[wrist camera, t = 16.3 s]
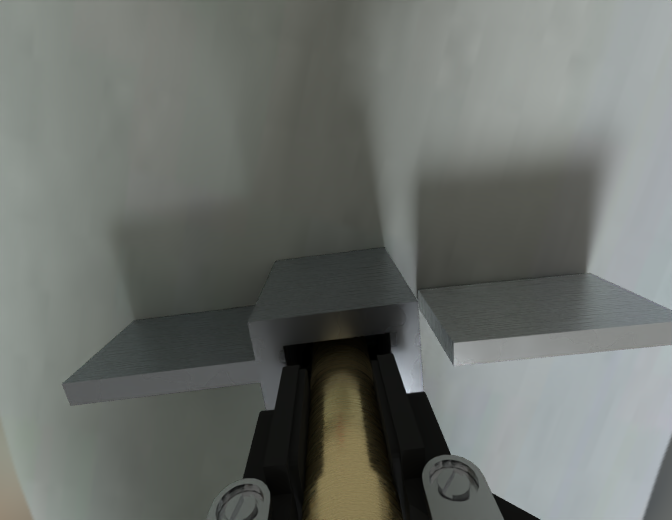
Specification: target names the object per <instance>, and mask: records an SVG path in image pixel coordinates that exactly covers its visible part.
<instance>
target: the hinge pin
mask: <svg viewBox="0 0 672 520" xmlns="http://www.w3.org/2000/svg"><path fill="white" fill-rule="evenodd" d="M310 391H311V393H310V409H309V425H308V440H307V456H306V472H305V487H304V499H303V506H302V520H404V519H403V515H402V510H401V505H400V500H399V496H398V493H397V491H396V489H395V487H394V482H393V477H392V473H391V468H390V463H389V458H388V453H387V448H386V443H385V438H384V433H383V428H382V424H381V419H380V414H379V409H378V404H377V399H376V394H375V389H374V384H373V375H372V368H371V363H370V358H369V353H368V349H367V344H366V339H365V336H358V337H350V338H342V339H334V340H326V341H318V342H313V355H312V370H311V385H310Z"/></svg>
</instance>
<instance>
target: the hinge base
mask: <svg viewBox="0 0 672 520" xmlns="http://www.w3.org/2000/svg"><path fill="white" fill-rule="evenodd" d="M358 336H365V339H366V344H367V349H368V353H369V358H370V363H371V361H372V360H377V355H384V354H392V353H393V354H394V357H395V360H396V363H397V366H398V369H399V372H400V375H401V378H402V381H403V384H404V387H405V390H406V393H414V392H422V391H423V376H422V360H421V344H420V328H419V312H418V301H417V299H416V298H415V296H414V294H413V293H412V291H411V289H410V288H409V286H408V285H407V283H406V281H405V280H404V278H403V277H402V275H401V273H400V272H399V270H398V268H397V267H396V265H395V264H394V262H393V260H392V259H391V257H390V255H389V254H388V252H387V251H386V249H385V247H383V248H375V249H367V250H359V251H351V252H343V253H335V254H327V255H319V256H311V257H303V258H295V259H287V260H279V261H276V262H275V264H274V266H273V268H272V270H271V272H270V275H269V277H268V279H267V281H266V283H265V285H264V288H263V290H262V292H261V294H260V296H259V299H258V301H257V303H256V305H255V306H248V307H240V308H232V309H224V310H216V311H208V312H200V313H192V314H183V315H175V316H167V317H159V318H151V319H143V320H135V321H133V322H132V323H131V324H130V325H129V326H127V327H126V328H125V329H124V330H123V331H122V332H121V333H119V334H118V335H117V336H116V337H115V338H114V339H113V340H111V341H110V342H109V343H108V344H107V345H106V346H105V347H104V348H102V349H101V350H100V351H99V352H98V353H97V354H96V355H94V356H93V357H92V358H91V359H90V360H89V361H88V362H86V363H85V364H84V365H83V366H82V367H81V368H80V369H78V370H77V371H76V372H75V373H74V374H73V375H72V376H71V377H69V378H68V379H67V380H66V381H65V382H64V383H63V384H62V385H63V388H64V390H65V393H66V395H67V398H68V400H69V403H70V405H80V404H88V403H96V402H104V401H112V400H121V399H129V398H137V397H145V396H153V395H162V394H170V393H178V392H186V391H194V390H202V389H211V388H219V387H227V386H235V385H243V384H252V383H260V384H261V389H262V393H263V398H264V403H265V407H266V410H274V408H275V403H276V398H277V393H278V388H279V383H280V378H281V373H282V369H283V367H286V366H294V365H300V367H301V369H307V373H308V379H309V385H311V370H312V355H313V342H318V341H326V340H334V339H342V338H350V337H358ZM371 368H372V366H371Z"/></svg>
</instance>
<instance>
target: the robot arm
mask: <svg viewBox="0 0 672 520" xmlns="http://www.w3.org/2000/svg"><path fill="white" fill-rule="evenodd" d="M371 366H372V375H373V384H374V389H375V394H376V399H377V404H378V409H379V414H380V419H381V424H382V428H383V433H384V438H385V443H386V448H387V453H388V458H389V463H390V468H391V473H392V477H393V482H394V487H395V489H396V491H397V493H398V496H399V500H400V505H401V510H402V515H403V519H404V520H540V519H538V518H537V517H535V516H533V515H531V514H529V513H527V512H526V511H524V510H522V509H520V508H518V507H516V506H515V505H513V504H511V503H509V502H507V501H506V500H504V499H502V498H500V497H498V496H496V495H495V494H493V493H492V492H491V490H490V488H489V486H488V484H487V482H486V479H485V477H484V475H483V474H482V472H481V471H480V469H479V468H478V467H477V466H476V465H474V464H473V463H472V462H471V461H469V460H467V459H465V458H463V457H459V456H456V455H451V454H450V451H449V449H448V446H447V444H446V441H445V439H444V437H443V434H442V432H441V429H440V427H439V424H438V422H437V420H436V417H435V415H434V412H433V410H432V407H431V405H430V403H429V400H428V398H427V395H426V393H425V392H424V391H422V392H414V393H406V390H405V387H404V384H403V381H402V378H401V375H400V372H399V369H398V366H397V363H396V360H395V357H394V354H393V353H392V354H384V355H377V360H372V361H371ZM310 393H311V391H310V385H309V379H308V373H307V369H301V367H300V365H294V366H286V367H283V369H282V373H281V378H280V383H279V388H278V393H277V398H276V403H275V408H274V410H266V411H261V412H260V414H259V417H258V421H257V425H256V429H255V433H254V437H253V441H252V445H251V449H250V453H249V457H248V461H247V464H246V468H245V472H244V476H243V479H242V480H238V481H236V482H234V483H232V484H230V485H228V486H227V487H226V488H224V489H223V490H222V491H221V492H220V493H219V494H218V495H217V497H216V498H215V499H214V501H213V503H212V505H211V507H210V510H209V513H208V516H207V520H302V506H303V499H304V487H305V472H306V456H307V440H308V425H309V409H310Z"/></svg>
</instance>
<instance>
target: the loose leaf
mask: <svg viewBox="0 0 672 520" xmlns="http://www.w3.org/2000/svg"><path fill="white" fill-rule="evenodd" d="M418 304H419V309H420V310H421V312H422V314H423V315H424V317H425V319H426V320H427V322H428V324H429V326H430V327H431V329H432V331H433V332H434V334H435V336H436V337H437V339H438V341H439V342H440V344H441V346H442V347H443V349H444V351H445V352H446V354H447V356H448V357H449V359H450V361H451V362H452V364H453V366H460V365H470V364H481V363H491V362H501V361H511V360H521V359H532V358H542V357H552V356H562V355H573V354H583V353H593V352H603V351H614V350H624V349H634V348H644V347H654V346H665V345H672V310H670V309H668V308H666V307H664V306H661V305H659V304H657V303H655V302H653V301H650V300H648V299H646V298H644V297H642V296H640V295H637V294H635V293H633V292H631V291H629V290H626V289H624V288H622V287H620V286H618V285H615V284H613V283H611V282H609V281H607V280H605V279H602V278H600V277H598V276H596V275H594V274H591V273H584V274H574V275H563V276H553V277H543V278H533V279H523V280H512V281H502V282H492V283H482V284H472V285H461V286H451V287H441V288H431V289H421V290H418Z"/></svg>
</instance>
